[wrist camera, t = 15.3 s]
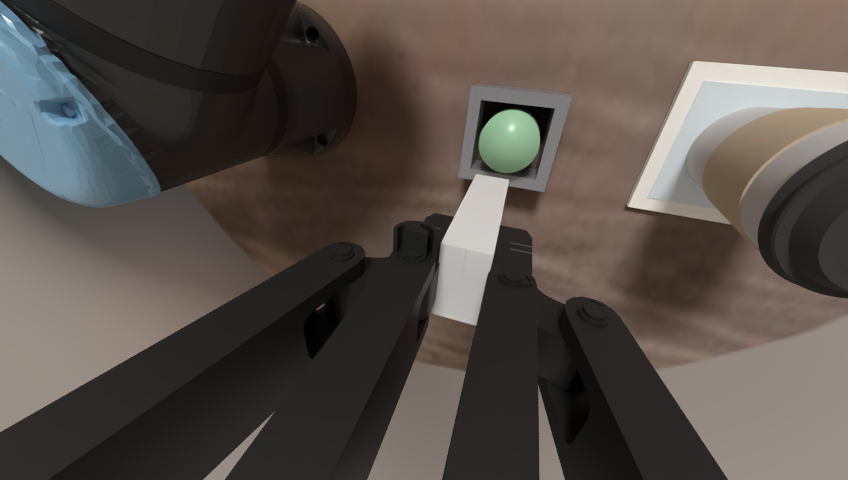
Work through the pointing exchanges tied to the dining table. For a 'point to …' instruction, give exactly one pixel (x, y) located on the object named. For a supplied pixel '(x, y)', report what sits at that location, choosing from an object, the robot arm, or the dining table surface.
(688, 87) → the white flat piece
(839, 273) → the coffee cup
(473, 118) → the button box
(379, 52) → the dining table surface
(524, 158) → the button
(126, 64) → the robot arm
